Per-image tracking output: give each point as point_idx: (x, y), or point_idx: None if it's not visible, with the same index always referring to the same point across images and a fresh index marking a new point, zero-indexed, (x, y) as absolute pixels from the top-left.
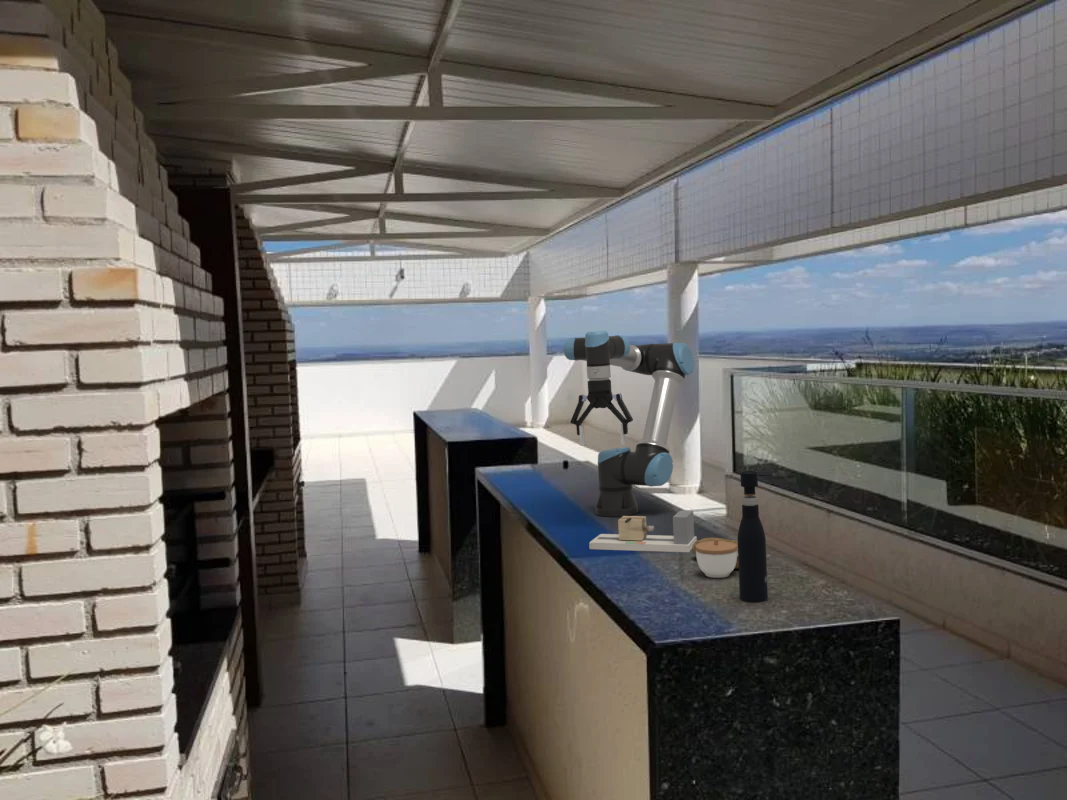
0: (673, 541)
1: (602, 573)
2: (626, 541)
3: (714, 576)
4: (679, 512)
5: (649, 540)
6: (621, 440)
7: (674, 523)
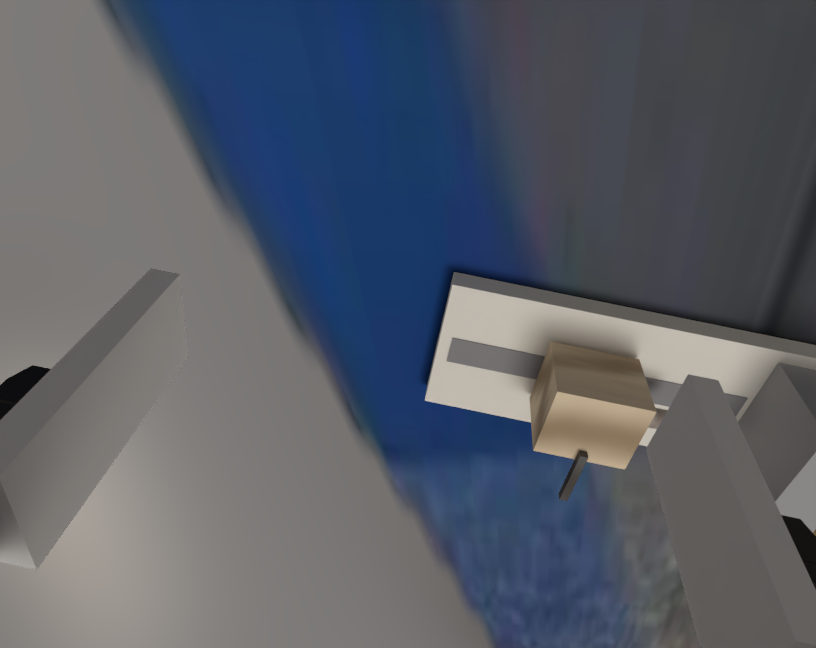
0: None
1: (487, 576)
2: None
3: None
4: (808, 471)
5: None
6: (665, 494)
7: None
